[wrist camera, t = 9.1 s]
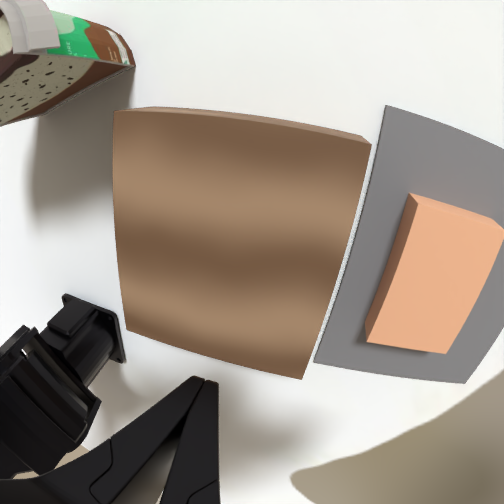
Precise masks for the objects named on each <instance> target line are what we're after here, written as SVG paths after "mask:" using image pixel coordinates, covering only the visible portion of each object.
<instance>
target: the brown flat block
mask: <svg viewBox="0 0 504 504" xmlns="http://www.w3.org/2000/svg"><path fill="white" fill-rule="evenodd" d="M371 146H372V144H370V143H369V142H368V141H367V140H366V139H364V138H363V137H362V136H360V135H356V134H351V133H347V132H343V131H338V130H334V129H329V128H325V127H320V126H315V125H310V124H305V123H299V122H294V121H288V120H282V119H276V118H269V117H263V116H255V115H248V114H240V113H232V112H223V111H213V110H201V109H189V108H173V107H144V108H134V109H126V110H117V111H114V119H113V206H114V225H115V239H116V251H117V262H118V271H119V280H120V288H121V296H122V303H123V310H124V317H125V323H126V329H127V330H128V331H131V332H134V333H137V334H139V335H142V336H145V337H148V338H151V339H154V340H157V341H160V342H163V343H166V344H169V345H172V346H175V347H178V348H181V349H184V350H188V351H191V352H194V353H197V354H201V355H204V356H208V357H211V358H215V359H218V360H222V361H225V362H229V363H233V364H237V365H240V366H244V367H248V368H252V369H256V370H260V371H264V372H269V373H273V374H277V375H282V376H286V377H291V378H296V379H300V380H302V378H303V375H304V373H305V370H306V367H307V365H308V362H309V359H310V357H311V354H312V351H313V348H314V346H315V343H316V340H317V337H318V334H319V332H320V329H321V326H322V323H323V320H324V317H325V314H326V311H327V308H328V305H329V302H330V299H331V296H332V293H333V290H334V287H335V283H336V280H337V277H338V274H339V270H340V267H341V264H342V260H343V257H344V254H345V250H346V247H347V243H348V239H349V236H350V232H351V229H352V225H353V221H354V217H355V214H356V210H357V206H358V202H359V198H360V194H361V190H362V186H363V181H364V177H365V173H366V169H367V164H368V160H369V155H370V150H371Z"/></svg>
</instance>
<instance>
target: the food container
mask: <svg viewBox="0 0 504 504" xmlns="http://www.w3.org/2000/svg"><path fill="white" fill-rule="evenodd" d="M135 66H136V65H135V61H134V58H133V54H132V51H131V49H130V48H129V46H128V45H127V43H126V42H125V40H124V39H123V37H122V36H121V35H120V34H118V33H116V32H115V31H113V30H112V29H110V28H108V27H106V26H103V25H100V24H97V23H94V22H91V21H87V20H84V19H81V18H78V17H74V16H71V15H67V14H63V13H60V12H56V11H52V10H49V8H48V7H47V5H46V3H45V2H44V1H43V0H0V126H4V125H7V124H11V123H14V122H18V121H22V120H25V119H29V118H33V117H37V116H42V115H45V114H46V113H48V112H50V111H51V110H53V109H54V108H56V107H58V106H59V105H61V104H63V103H64V102H66V101H68V100H69V99H71V98H73V97H75V96H76V95H78V94H80V93H82V92H84V91H86V90H87V89H89V88H91V87H93V86H95V85H97V84H99V83H101V82H103V81H105V80H107V79H109V78H111V77H113V76H115V75H117V74H119V73H121V72H124V71H126V70H128V69H130V68H132V67H135Z"/></svg>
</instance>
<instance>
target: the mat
mask: <svg viewBox="0 0 504 504" xmlns="http://www.w3.org/2000/svg"><path fill="white" fill-rule="evenodd" d="M409 193H412V194H416V195H419V196H423V197H426V198H430V199H433V200H436V201H440V202H443V203H446V204H449V205H453V206H456V207H459V208H462V209H465V210H468V211H471V212H474V213H477V214H480V215H483V216H486V217H489V218H491V219H493V220H494V221H495V222H496V223H497V224H498V225H500V226H501V227H502V228H503V229H504V149H502V148H500V147H498V146H496V145H494V144H492V143H489V142H487V141H485V140H483V139H480V138H478V137H476V136H473V135H471V134H469V133H466V132H464V131H461V130H459V129H456V128H454V127H451V126H449V125H446V124H443V123H441V122H438V121H435V120H432V119H429V118H426V117H423V116H420V115H417V114H414V113H411V112H408V111H405V110H402V109H398V108H395V107H392V106H388V105H386V106H385V112H384V117H383V122H382V128H381V133H380V137H379V142H378V147H377V152H376V156H375V161H374V165H373V170H372V174H371V178H370V182H369V186H368V190H367V194H366V198H365V202H364V206H363V210H362V214H361V217H360V221H359V225H358V228H357V232H356V235H355V239H354V242H353V246H352V249H351V253H350V256H349V259H348V263H347V266H346V269H345V272H344V275H343V279H342V282H341V285H340V288H339V291H338V294H337V297H336V300H335V303H334V306H333V309H332V312H331V315H330V318H329V320H328V323H327V326H326V329H325V332H324V334H323V337H322V340H321V343H320V345H319V348H318V351H317V353H316V356H315V358H314V362H315V363H320V364H325V365H330V366H336V367H341V368H347V369H352V370H358V371H364V372H370V373H377V374H384V375H390V376H398V377H405V378H413V379H421V380H430V381H440V382H451V383H463V384H465V383H466V382H467V380H468V379H469V378H470V376H471V375H472V374H473V372H474V371H475V369H476V368H477V367H478V365H479V364H480V363H481V361H482V360H483V358H484V357H485V355H486V354H487V352H488V351H489V349H490V348H491V346H492V345H493V343H494V342H495V340H496V339H497V337H498V335H499V334H500V332H501V331H502V329H503V327H504V239H503V242H502V245H501V247H500V250H499V252H498V254H497V257H496V259H495V262H494V264H493V266H492V269H491V271H490V273H489V275H488V277H487V280H486V282H485V284H484V286H483V288H482V290H481V292H480V294H479V296H478V298H477V300H476V302H475V304H474V306H473V308H472V310H471V312H470V314H469V315H468V317H467V319H466V321H465V323H464V324H463V326H462V328H461V330H460V331H459V333H458V335H457V337H456V338H455V340H454V342H453V343H452V345H451V347H450V348H449V350H448V351H447V353H446V354H443V353H435V352H428V351H421V350H414V349H408V348H401V347H395V346H389V345H383V344H377V343H371V342H367V340H366V329H365V320H366V318H367V315H368V313H369V310H370V308H371V305H372V303H373V300H374V298H375V295H376V292H377V290H378V287H379V284H380V282H381V279H382V276H383V273H384V271H385V268H386V265H387V262H388V259H389V256H390V253H391V250H392V247H393V244H394V241H395V238H396V235H397V232H398V229H399V225H400V222H401V219H402V215H403V212H404V208H405V205H406V201H407V198H408V194H409Z"/></svg>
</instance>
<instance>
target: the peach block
mask: <svg viewBox="0 0 504 504" xmlns="http://www.w3.org/2000/svg"><path fill="white" fill-rule="evenodd" d="M503 239H504V229H503V228H502V227H501V226H500V225H498V224H497V223H496V222H495V221H494V220H493V219H491V218H489V217H486V216H483V215H480V214H477V213H474V212H471V211H468V210H465V209H462V208H459V207H456V206H453V205H449V204H446V203H443V202H440V201H436V200H433V199H430V198H426V197H423V196H419V195H416V194H412V193H409V194H408V198H407V201H406V205H405V208H404V212H403V215H402V219H401V222H400V225H399V229H398V232H397V235H396V238H395V241H394V244H393V247H392V250H391V253H390V256H389V259H388V262H387V265H386V268H385V271H384V273H383V276H382V279H381V282H380V284H379V287H378V290H377V292H376V295H375V298H374V300H373V303H372V305H371V308H370V310H369V313H368V315H367V318H366V320H365V329H366V340H367V342H371V343H377V344H383V345H389V346H395V347H401V348H408V349H414V350H421V351H428V352H435V353H443V354H446V353H447V351H448V350H449V348H450V347H451V345H452V343H453V342H454V340H455V338H456V337H457V335H458V333H459V331H460V330H461V328H462V326H463V324H464V323H465V321H466V319H467V317H468V315H469V314H470V312H471V310H472V308H473V306H474V304H475V302H476V300H477V298H478V296H479V294H480V292H481V290H482V288H483V286H484V284H485V282H486V280H487V277H488V275H489V273H490V271H491V269H492V266H493V264H494V262H495V259H496V257H497V254H498V252H499V250H500V247H501V245H502V242H503Z"/></svg>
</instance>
